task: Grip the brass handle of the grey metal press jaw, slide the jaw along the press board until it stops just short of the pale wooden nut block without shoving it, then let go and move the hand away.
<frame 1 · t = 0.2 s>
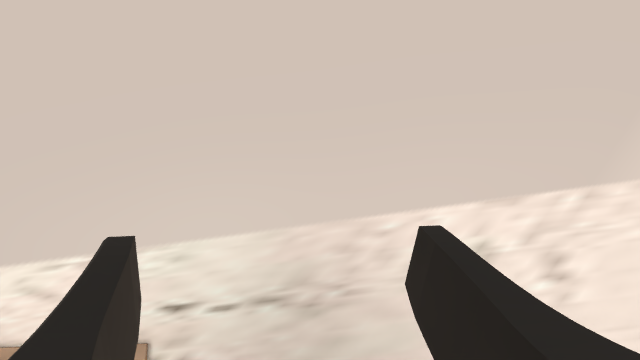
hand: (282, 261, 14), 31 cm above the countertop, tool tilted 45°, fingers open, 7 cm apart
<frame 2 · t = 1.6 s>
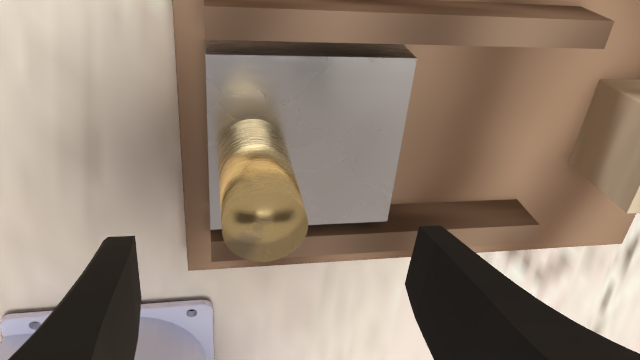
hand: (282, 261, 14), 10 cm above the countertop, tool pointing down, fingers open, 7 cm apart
nut block: (622, 122, 24), point 1 cm above the countertop, touching press board
press board: (441, 108, 23), on the countertop
press jaw: (315, 170, 18), point 5 cm above the countertop, slide at 0.0 cm
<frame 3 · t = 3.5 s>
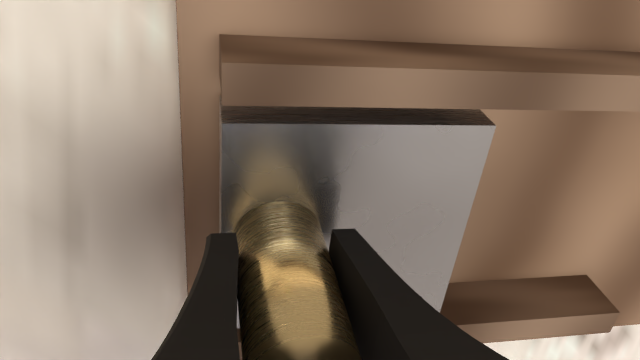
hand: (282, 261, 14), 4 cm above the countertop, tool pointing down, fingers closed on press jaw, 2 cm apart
press board: (503, 169, 19), on the countertop
press jaw: (362, 270, 14), point 5 cm above the countertop, slide at 0.0 cm, touching gripper
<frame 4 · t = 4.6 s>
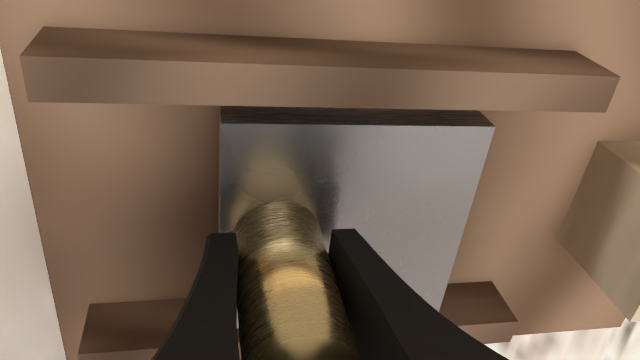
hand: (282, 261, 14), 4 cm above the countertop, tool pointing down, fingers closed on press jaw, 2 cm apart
nut block: (626, 191, 19), point 1 cm above the countertop, touching press board
press board: (396, 171, 18), on the countertop
press jaw: (361, 271, 14), point 5 cm above the countertop, slide at 4.0 cm, touching gripper
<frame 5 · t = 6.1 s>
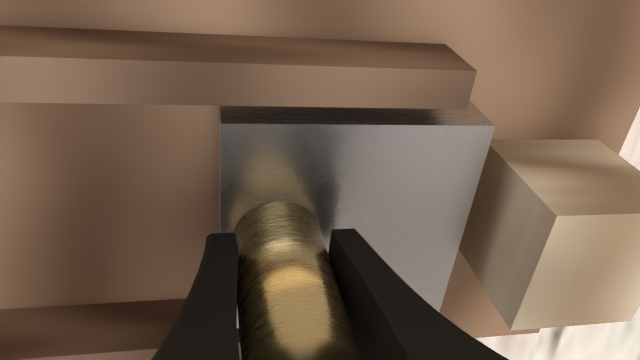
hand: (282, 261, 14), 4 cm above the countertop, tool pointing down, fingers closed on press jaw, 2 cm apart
nut block: (523, 192, 18), point 1 cm above the countertop, touching press board
press board: (280, 172, 17), on the countertop
press jaw: (361, 271, 14), point 5 cm above the countertop, slide at 8.0 cm, touching gripper
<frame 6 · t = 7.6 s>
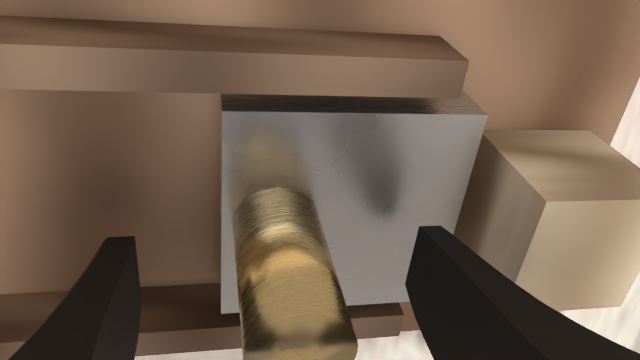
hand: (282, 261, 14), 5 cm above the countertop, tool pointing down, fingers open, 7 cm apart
nut block: (517, 182, 18), point 1 cm above the countertop, touching press board
press board: (279, 161, 18), on the countertop
press jaw: (358, 255, 14), point 5 cm above the countertop, slide at 8.0 cm
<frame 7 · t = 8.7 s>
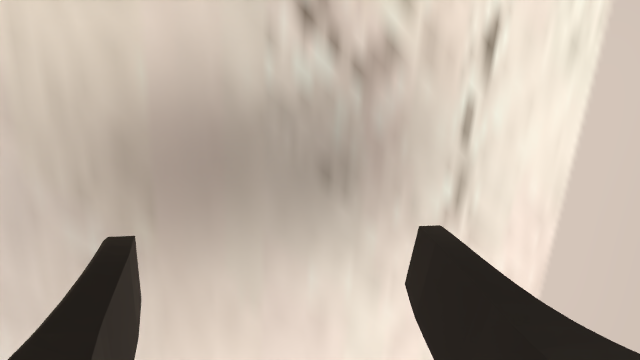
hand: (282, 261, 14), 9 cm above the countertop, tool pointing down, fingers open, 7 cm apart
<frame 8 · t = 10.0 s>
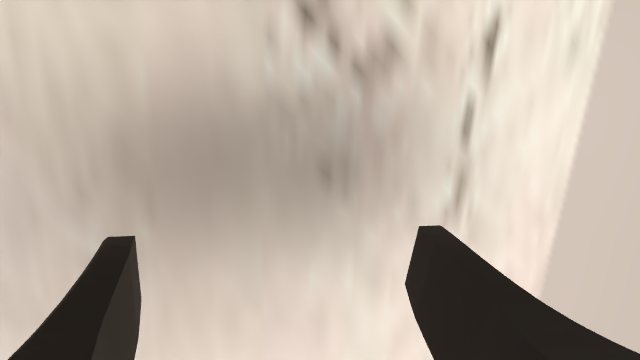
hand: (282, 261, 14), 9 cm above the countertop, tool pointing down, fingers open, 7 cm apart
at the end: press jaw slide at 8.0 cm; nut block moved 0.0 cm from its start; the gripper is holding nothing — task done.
